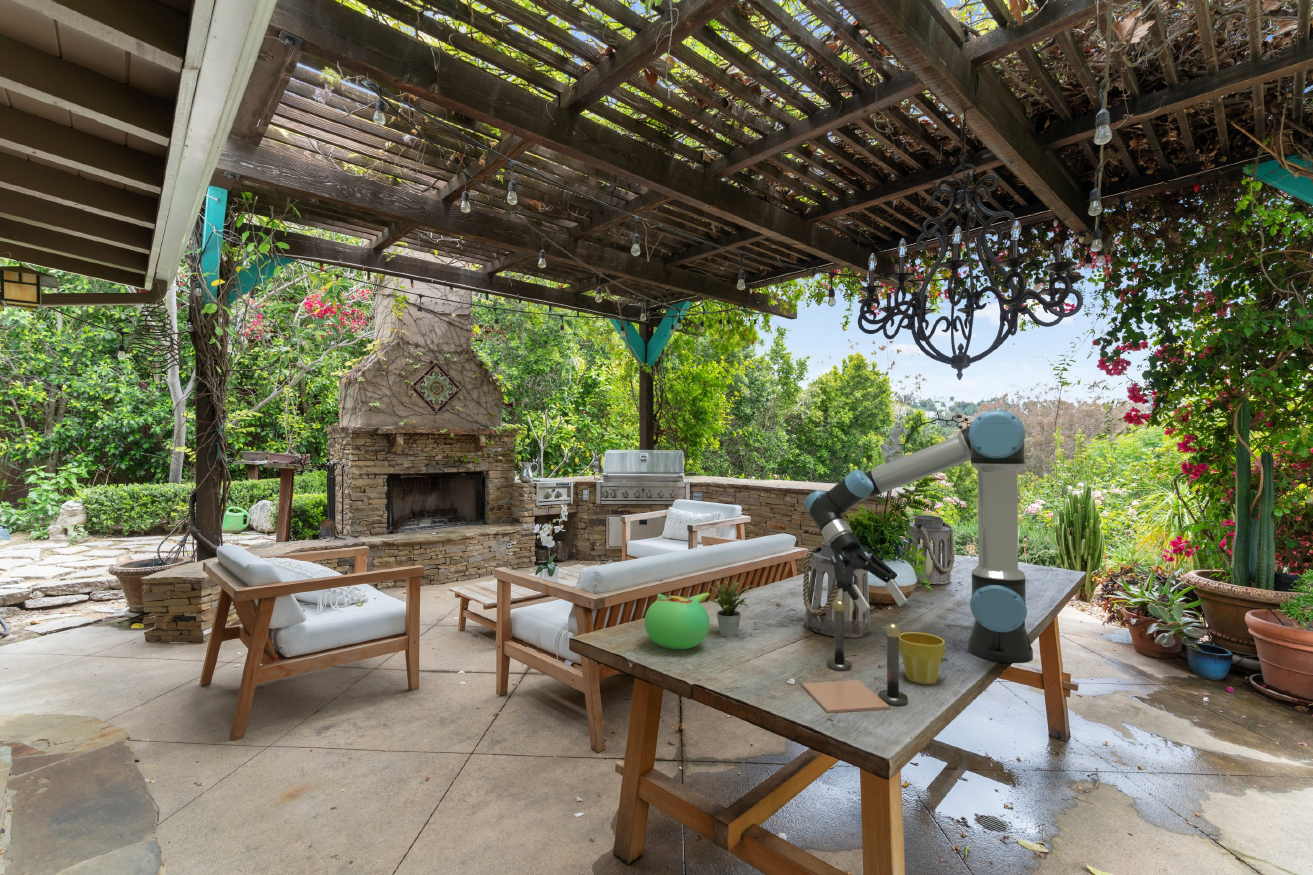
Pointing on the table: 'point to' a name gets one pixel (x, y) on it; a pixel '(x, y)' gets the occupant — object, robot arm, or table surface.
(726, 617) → the house plant
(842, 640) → the iron post
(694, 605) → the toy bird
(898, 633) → the iron post
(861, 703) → the terracotta tile
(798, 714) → the table surface
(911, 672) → the plant pot
